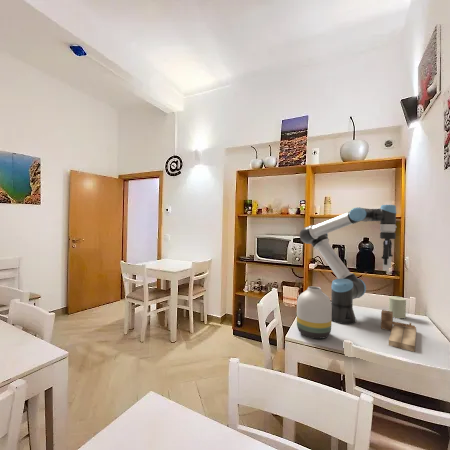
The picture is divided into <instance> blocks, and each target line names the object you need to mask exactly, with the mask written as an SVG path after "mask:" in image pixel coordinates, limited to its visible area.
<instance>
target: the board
mask: <svg viewBox="0 0 450 450" xmlns="http://www.w3.org/2000/svg"><path fill="white" fill-rule="evenodd" d="M416 339H417V326H415V329H414V328H409V327H405V326H400V325H395V324H393V328H392V331H390V335H389V338H388V346H391V347H395V348H398V349H402V350H406V351H410V352H416Z"/></svg>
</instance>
